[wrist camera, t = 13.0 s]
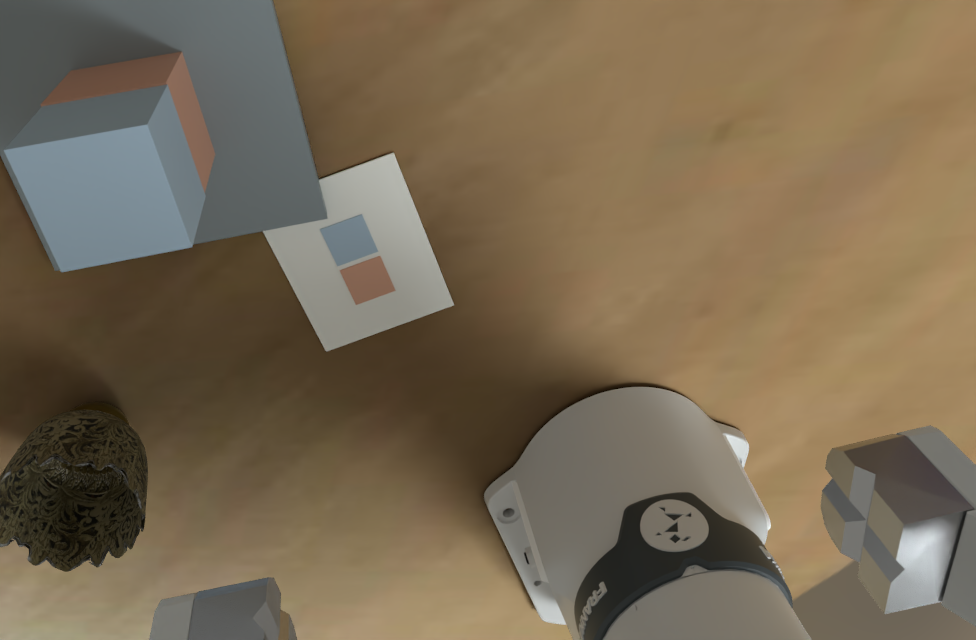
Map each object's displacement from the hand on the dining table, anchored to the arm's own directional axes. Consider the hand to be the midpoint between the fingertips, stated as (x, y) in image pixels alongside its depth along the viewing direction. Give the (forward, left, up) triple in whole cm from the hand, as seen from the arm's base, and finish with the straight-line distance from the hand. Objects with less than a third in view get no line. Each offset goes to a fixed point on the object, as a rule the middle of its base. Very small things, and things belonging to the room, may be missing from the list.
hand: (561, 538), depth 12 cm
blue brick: (-2, +12, -27) cm, 30 cm away
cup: (-19, +21, -33) cm, 44 cm away
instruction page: (-12, +4, -33) cm, 35 cm away
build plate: (-2, +12, -33) cm, 35 cm away
